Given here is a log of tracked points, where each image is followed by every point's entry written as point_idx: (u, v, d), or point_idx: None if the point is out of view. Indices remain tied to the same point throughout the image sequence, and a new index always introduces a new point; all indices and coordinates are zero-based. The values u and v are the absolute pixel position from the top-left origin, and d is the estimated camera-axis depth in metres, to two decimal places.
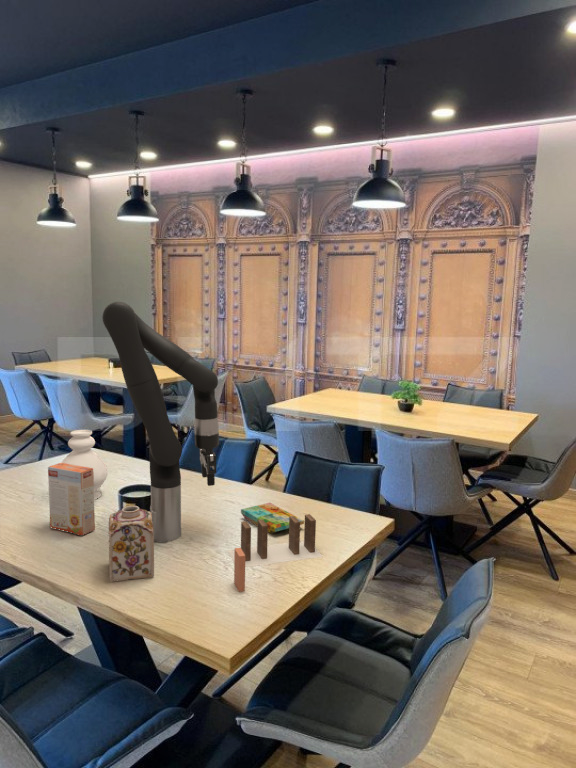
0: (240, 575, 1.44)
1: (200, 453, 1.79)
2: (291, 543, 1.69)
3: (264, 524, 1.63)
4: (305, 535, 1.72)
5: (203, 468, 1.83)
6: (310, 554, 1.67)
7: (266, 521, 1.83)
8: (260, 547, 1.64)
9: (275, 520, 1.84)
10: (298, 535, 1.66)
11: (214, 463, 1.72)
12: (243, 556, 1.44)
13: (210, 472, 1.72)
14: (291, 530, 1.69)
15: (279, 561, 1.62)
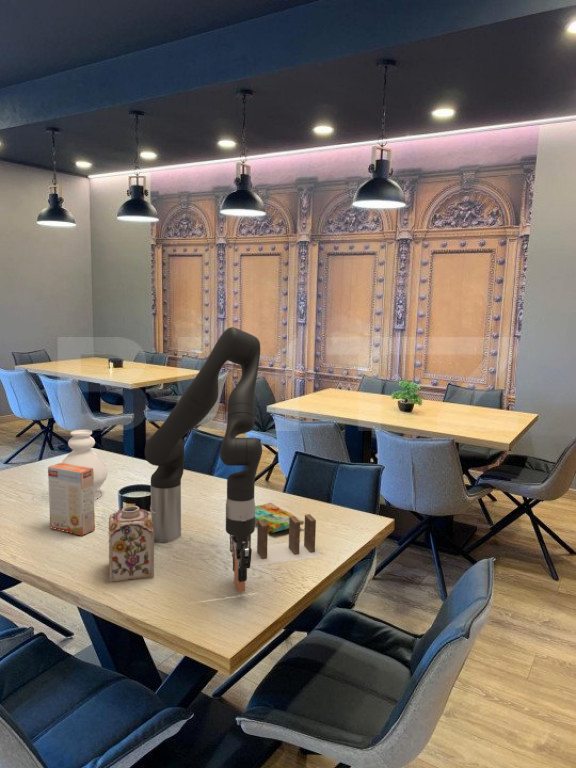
0: None
1: (231, 539, 1.46)
2: (291, 543, 1.69)
3: (264, 524, 1.63)
4: (305, 535, 1.72)
5: None
6: (310, 554, 1.67)
7: (265, 521, 1.83)
8: (260, 547, 1.64)
9: (274, 520, 1.84)
10: (298, 535, 1.66)
11: (249, 558, 1.40)
12: None
13: (243, 567, 1.41)
14: (291, 530, 1.69)
15: (279, 561, 1.62)
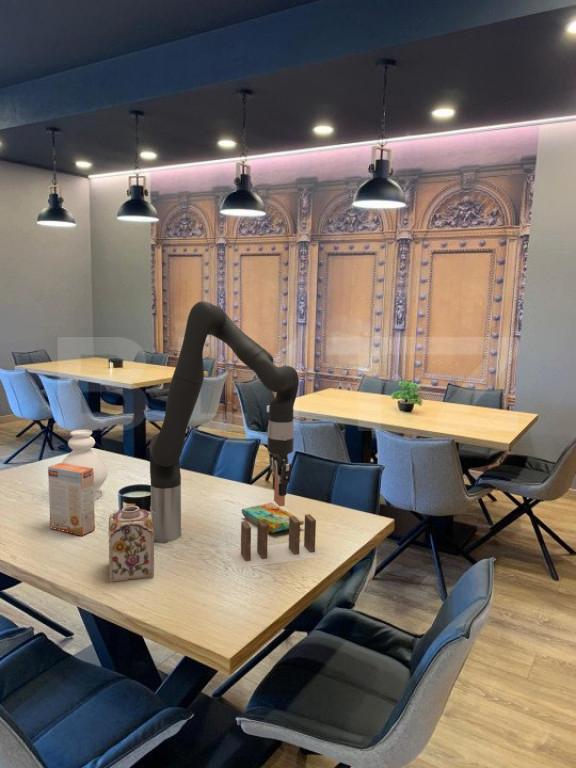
0: None
1: (272, 459, 1.64)
2: (291, 543, 1.69)
3: (264, 524, 1.63)
4: (305, 535, 1.72)
5: (274, 479, 1.66)
6: (310, 554, 1.67)
7: (265, 521, 1.83)
8: (260, 547, 1.64)
9: (274, 520, 1.84)
10: (298, 535, 1.66)
11: (289, 473, 1.58)
12: None
13: (283, 481, 1.59)
14: (291, 530, 1.69)
15: (279, 561, 1.62)
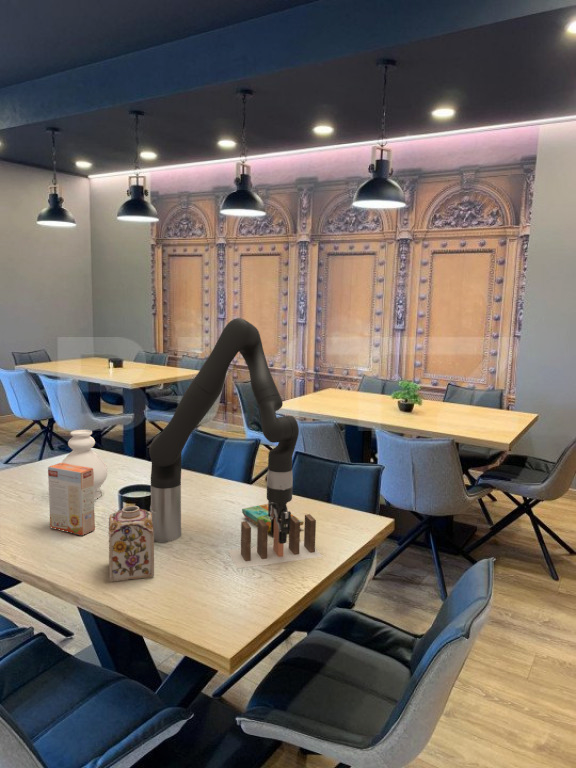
0: None
1: (271, 507, 1.66)
2: (291, 543, 1.69)
3: (264, 524, 1.63)
4: (305, 535, 1.72)
5: (272, 523, 1.70)
6: (310, 554, 1.67)
7: (265, 521, 1.83)
8: (260, 547, 1.64)
9: None
10: (298, 535, 1.66)
11: (288, 521, 1.60)
12: None
13: (284, 530, 1.60)
14: (291, 530, 1.69)
15: (279, 561, 1.62)
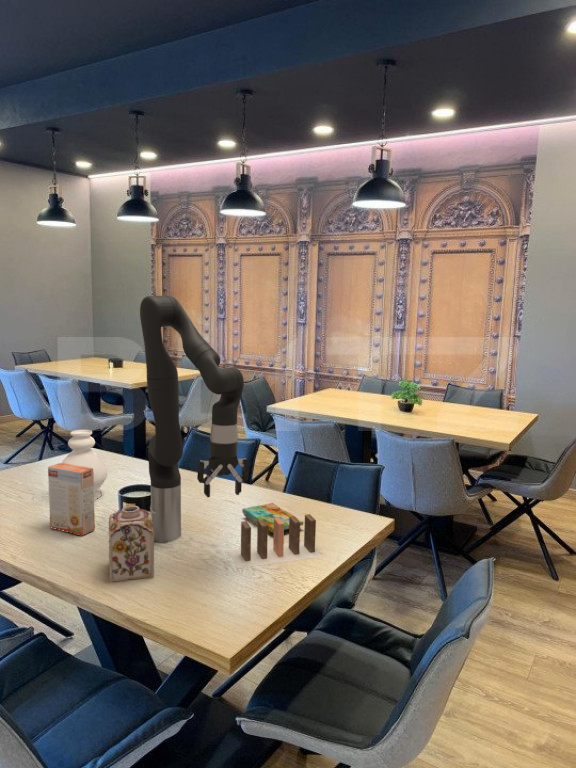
0: (279, 541, 1.65)
1: None
2: (291, 543, 1.69)
3: (264, 524, 1.63)
4: (305, 535, 1.72)
5: (235, 483, 1.61)
6: (310, 554, 1.67)
7: (265, 521, 1.83)
8: (260, 547, 1.64)
9: None
10: (298, 535, 1.66)
11: (199, 471, 1.55)
12: (282, 524, 1.64)
13: None
14: (291, 530, 1.69)
15: (279, 561, 1.62)
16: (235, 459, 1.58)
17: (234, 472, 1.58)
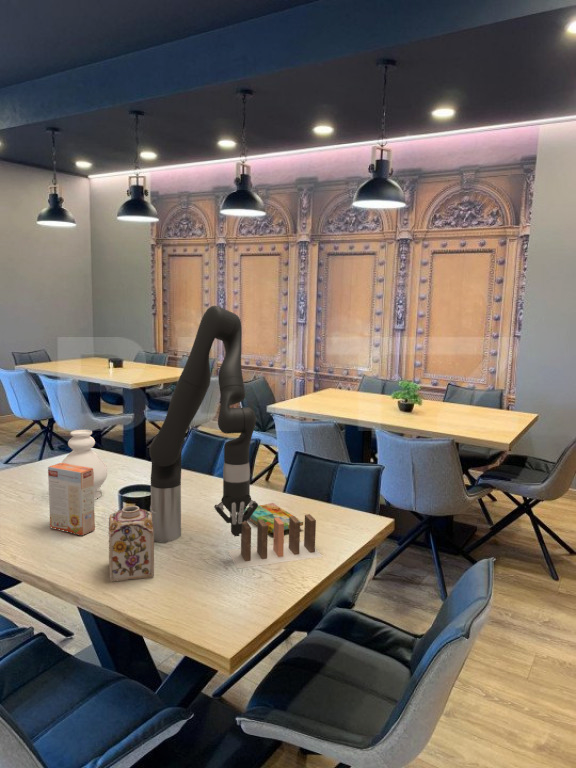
0: (279, 541, 1.65)
1: None
2: (291, 543, 1.69)
3: (264, 524, 1.63)
4: (305, 535, 1.72)
5: None
6: (310, 554, 1.67)
7: (265, 521, 1.83)
8: (260, 547, 1.64)
9: None
10: (298, 535, 1.66)
11: (220, 515, 1.59)
12: (282, 524, 1.64)
13: None
14: (291, 530, 1.69)
15: (279, 561, 1.62)
16: (250, 497, 1.61)
17: (241, 511, 1.60)
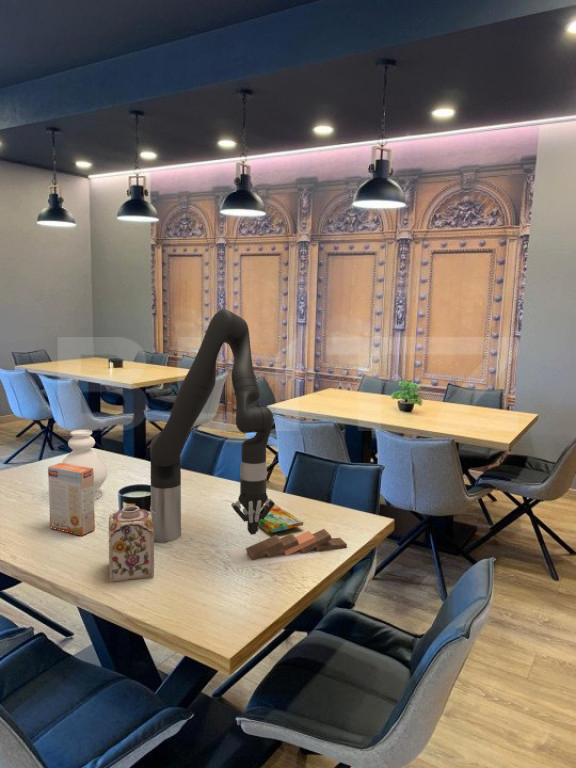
0: (299, 545, 1.67)
1: None
2: None
3: None
4: None
5: None
6: (310, 554, 1.67)
7: (265, 521, 1.83)
8: None
9: (274, 521, 1.84)
10: (319, 544, 1.69)
11: (237, 513, 1.61)
12: (315, 540, 1.68)
13: None
14: (315, 536, 1.72)
15: (279, 561, 1.62)
16: (266, 496, 1.63)
17: (258, 510, 1.62)
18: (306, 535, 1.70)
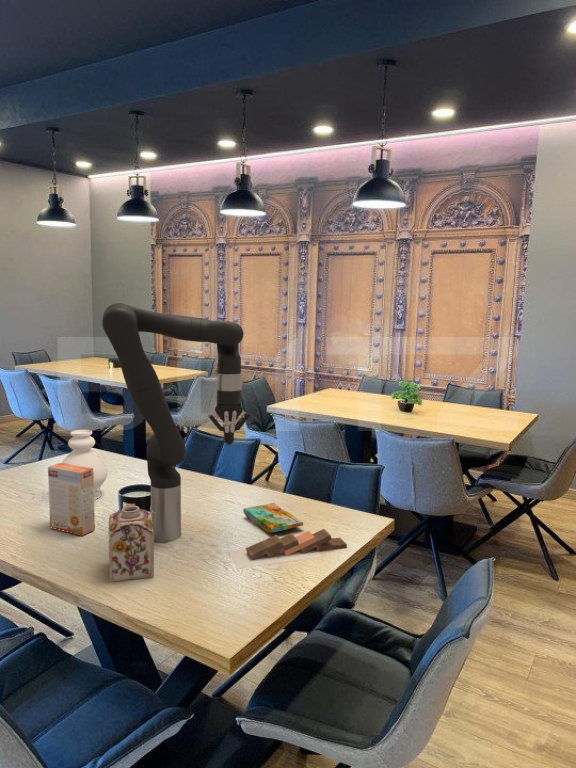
0: (299, 545, 1.67)
1: None
2: None
3: None
4: None
5: None
6: (310, 554, 1.67)
7: (264, 521, 1.83)
8: None
9: (274, 521, 1.84)
10: (319, 544, 1.69)
11: (214, 423, 1.69)
12: (315, 540, 1.68)
13: None
14: (315, 536, 1.72)
15: (279, 561, 1.62)
16: (241, 407, 1.71)
17: (233, 420, 1.70)
18: (306, 535, 1.70)
